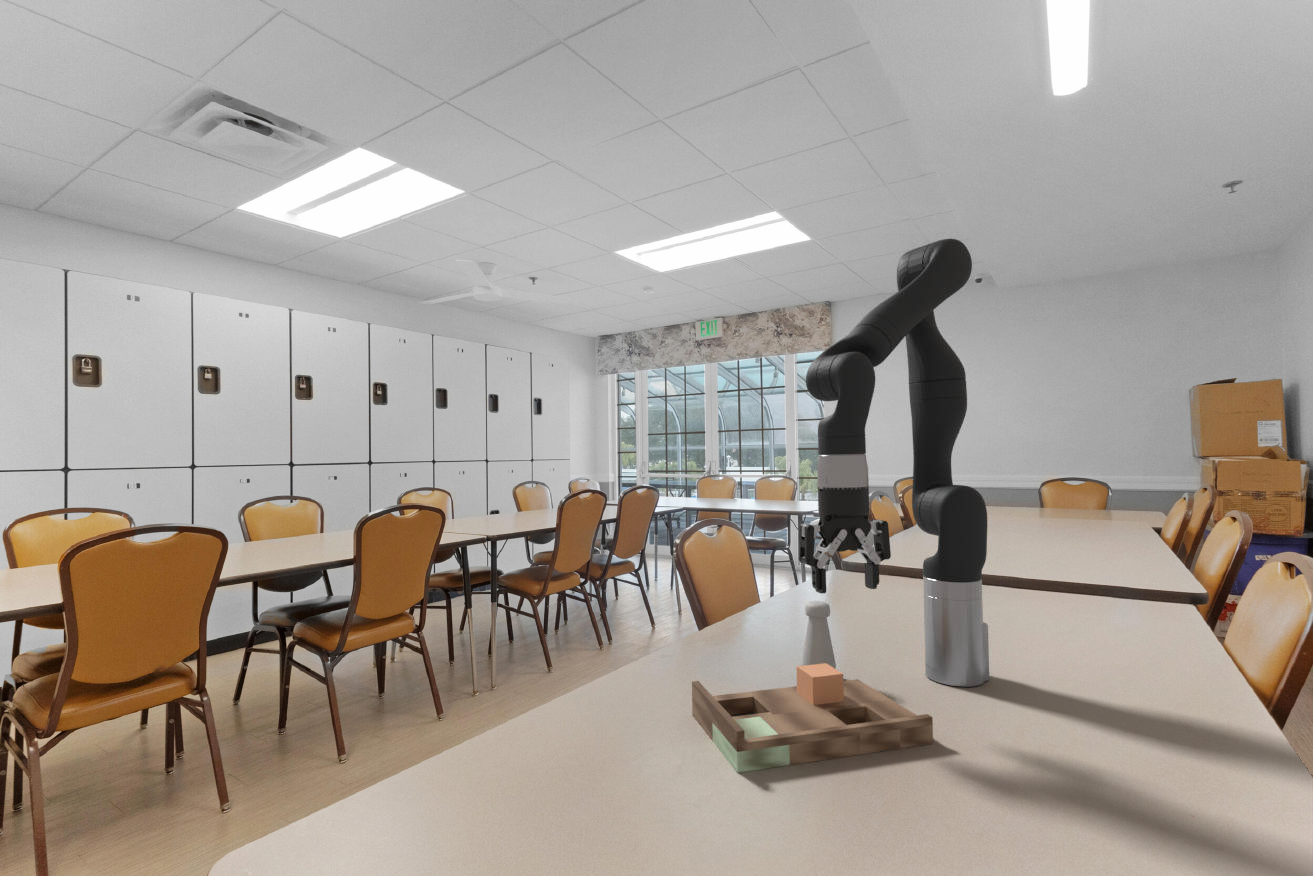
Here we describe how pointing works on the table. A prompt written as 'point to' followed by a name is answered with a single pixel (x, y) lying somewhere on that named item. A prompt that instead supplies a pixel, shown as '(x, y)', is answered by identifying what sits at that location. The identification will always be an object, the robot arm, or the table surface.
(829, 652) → the salt shaker
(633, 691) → the table surface
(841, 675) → the terracotta block
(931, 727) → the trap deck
